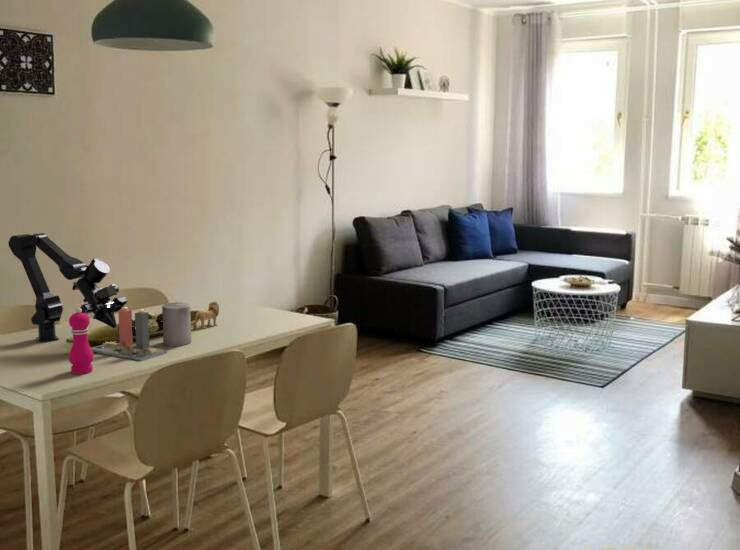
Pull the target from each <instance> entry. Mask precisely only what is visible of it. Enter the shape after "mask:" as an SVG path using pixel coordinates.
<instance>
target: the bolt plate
mask: <svg viewBox="0 0 740 550" xmlns="http://www.w3.org/2000/svg"><path fill="white" fill-rule="evenodd" d="M116 342H117V341H110V342H108V341H105V343H104V342H103V343H102V344H100V345H97V346H93V347H91V349H92V352H97V353H96V354H99V353H102V354H101V355H104V354H107V355H106V356H110V355H112V357H116V356H117V358H121V357H122V358H121V359H127V358H128V360H133V359H134V361H138V360H139V361H140V362H143V361H145V360H148V359H152V358H155V357H158V356H161V355H164V354H167V353H168V350H167V349H163V348H158V347H151V346H149V348H146V349H136V353H134V349H133V346H134V345H135V344H134V343H133V345H130V346H127V347H126V346H120V350H118V346H116Z"/></svg>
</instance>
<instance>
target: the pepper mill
mask: <svg viewBox="0 0 740 550" xmlns="http://www.w3.org/2000/svg"><path fill="white" fill-rule="evenodd" d="M81 312H82V309H81V308H80V307H77V308H76V309H75V313H73V314H72V315H70V317H69V318H68V324H69V326H70V327H71V330H70V331H71V335H72V344H71V345H72V346H71V348H70V351H69V355H68V362H69V363H70V365H71V366H70V372H72V374H73V373H74V374H73V375H84V374H83V373H86V374H89V373H88V372H90V373H92V372H93V371H92V370H93V364H92V362H93V361H94V359H95V356H94V353H93V352H92V349H91V348H92V347H91V346H90V343H89V339H88V333H89V328H88V326H90V323H91V320H90V317H89V315H88V314H85V313H81ZM91 371H92V372H91Z"/></svg>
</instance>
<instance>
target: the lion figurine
mask: <svg viewBox="0 0 740 550" xmlns="http://www.w3.org/2000/svg"><path fill="white" fill-rule="evenodd" d="M219 312H220V305H219V304H218V302H217V301H211V302H210V303H209V304H208V308H207V310H199V311H197V312H196V314H195V318H194V322H192V329H193V330H197V324H198V322H199V321H200V323H201V324H200V326H201V327H202V328H203V329H204V330H206V329H207V326H211V325H212V323H211V320H213V325H212V326H213V327H214V326H218V325H217V317H218V316H219ZM205 321H207V326H205Z"/></svg>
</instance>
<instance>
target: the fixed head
mask: <svg viewBox="0 0 740 550" xmlns="http://www.w3.org/2000/svg"><path fill="white" fill-rule="evenodd" d="M134 321H135V322H134V323H135V324H134V325H135V330H136V331H135V344H134V346H133V349H134V353H136V349H146V348H149V347H150V331H149V329H150V328H149V324H150V323H149V312H147V311H145V309H138V311H137V312H134Z"/></svg>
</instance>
